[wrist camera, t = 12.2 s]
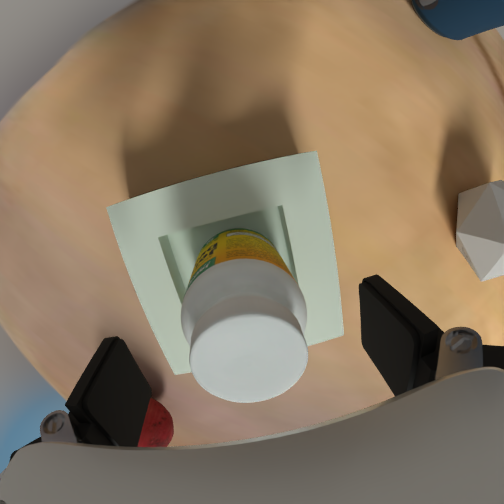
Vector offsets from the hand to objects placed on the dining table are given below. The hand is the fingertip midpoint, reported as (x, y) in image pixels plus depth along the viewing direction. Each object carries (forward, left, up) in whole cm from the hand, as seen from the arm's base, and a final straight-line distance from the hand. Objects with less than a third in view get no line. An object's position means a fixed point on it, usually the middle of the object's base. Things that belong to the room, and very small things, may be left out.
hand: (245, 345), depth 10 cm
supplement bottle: (0, 0, -9) cm, 9 cm away
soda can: (-24, -19, -11) cm, 32 cm away
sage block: (0, 0, -10) cm, 10 cm away
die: (-22, +2, -11) cm, 24 cm away
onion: (+12, +12, -11) cm, 20 cm away
